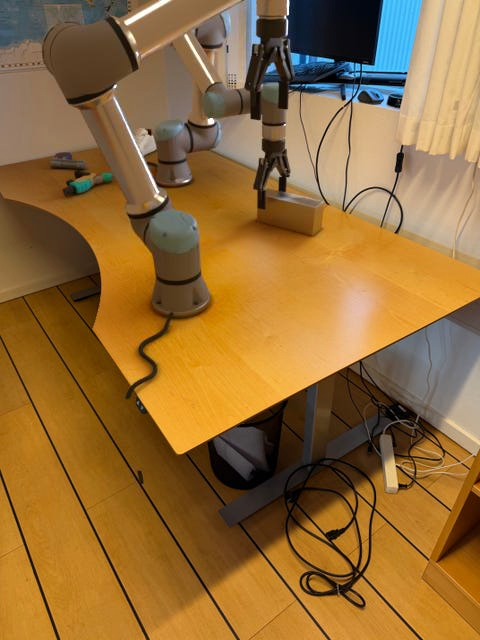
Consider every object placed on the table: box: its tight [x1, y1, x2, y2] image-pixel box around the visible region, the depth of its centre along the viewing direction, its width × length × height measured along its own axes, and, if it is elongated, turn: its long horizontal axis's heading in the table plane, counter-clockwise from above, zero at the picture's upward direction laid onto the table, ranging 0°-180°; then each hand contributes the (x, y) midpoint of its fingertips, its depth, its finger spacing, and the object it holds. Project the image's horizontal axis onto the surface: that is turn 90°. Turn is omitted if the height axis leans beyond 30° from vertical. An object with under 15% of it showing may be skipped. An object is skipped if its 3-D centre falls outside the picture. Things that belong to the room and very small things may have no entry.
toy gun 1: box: [48, 151, 87, 170], centre depth 217 cm, size 4×19×15 cm
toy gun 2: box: [62, 169, 115, 197], centre depth 193 cm, size 4×26×15 cm
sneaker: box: [133, 127, 157, 157], centre depth 223 cm, size 10×29×12 cm, turn 163°
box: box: [256, 187, 325, 237], centre depth 161 cm, size 22×7×10 cm, turn 56°
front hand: (269, 114), depth 124 cm, fingers open, 13 cm apart
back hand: (272, 202), depth 163 cm, fingers open, 13 cm apart
